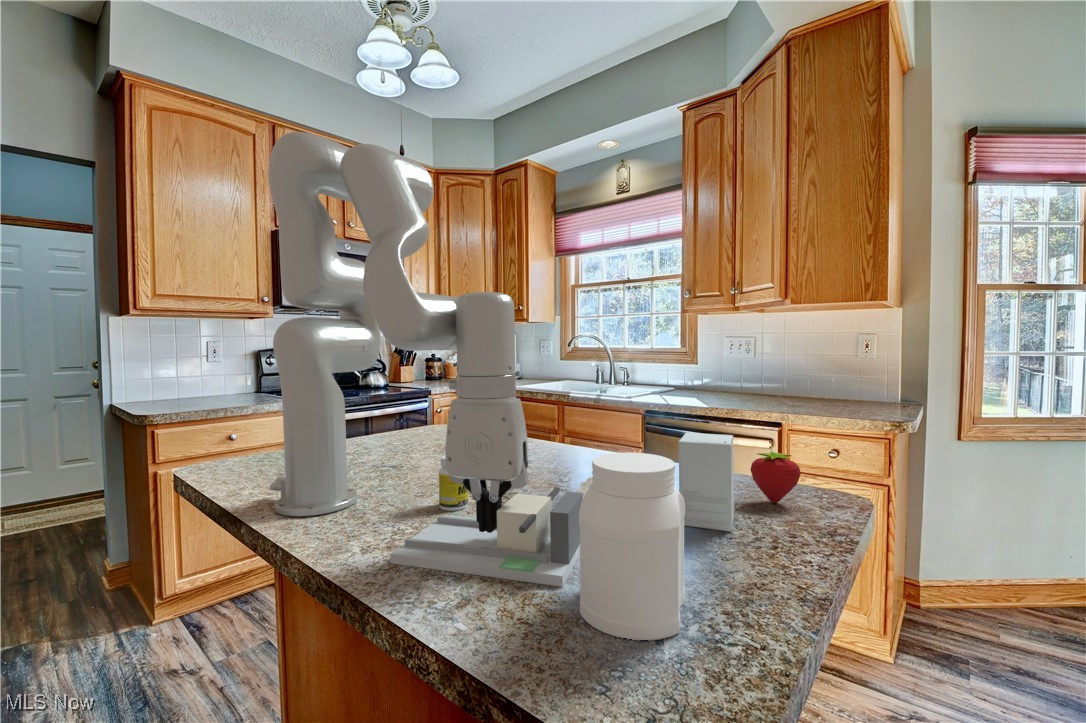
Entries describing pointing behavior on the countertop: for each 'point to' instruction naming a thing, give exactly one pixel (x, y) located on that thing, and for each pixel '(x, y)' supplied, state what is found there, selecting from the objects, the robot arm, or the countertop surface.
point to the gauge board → (476, 552)
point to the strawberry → (775, 475)
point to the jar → (632, 547)
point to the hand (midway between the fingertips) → (489, 528)
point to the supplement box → (707, 480)
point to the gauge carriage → (525, 522)
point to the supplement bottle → (451, 491)
